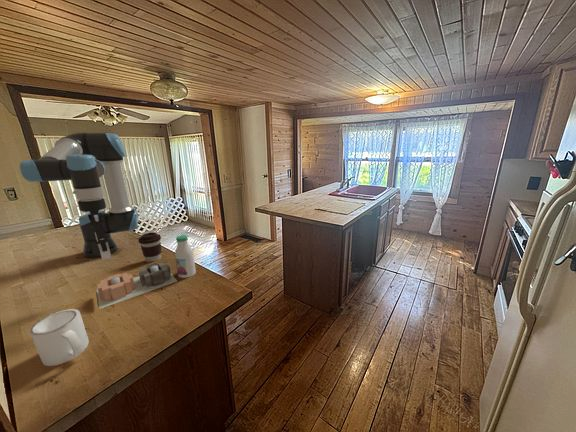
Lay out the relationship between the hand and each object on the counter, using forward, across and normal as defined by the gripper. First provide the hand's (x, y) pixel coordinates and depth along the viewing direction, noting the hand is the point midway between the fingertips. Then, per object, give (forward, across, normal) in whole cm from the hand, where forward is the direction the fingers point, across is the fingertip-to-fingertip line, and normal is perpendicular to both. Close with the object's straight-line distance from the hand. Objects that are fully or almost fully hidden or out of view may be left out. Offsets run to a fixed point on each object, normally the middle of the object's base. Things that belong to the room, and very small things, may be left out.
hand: (104, 252), depth 89 cm
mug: (+19, +25, -14) cm, 34 cm away
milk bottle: (+19, +6, +27) cm, 34 cm away
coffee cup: (+19, -21, +19) cm, 34 cm away
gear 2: (+17, +2, +15) cm, 23 cm away
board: (+19, +2, +8) cm, 21 cm away
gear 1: (+17, +2, +1) cm, 17 cm away
